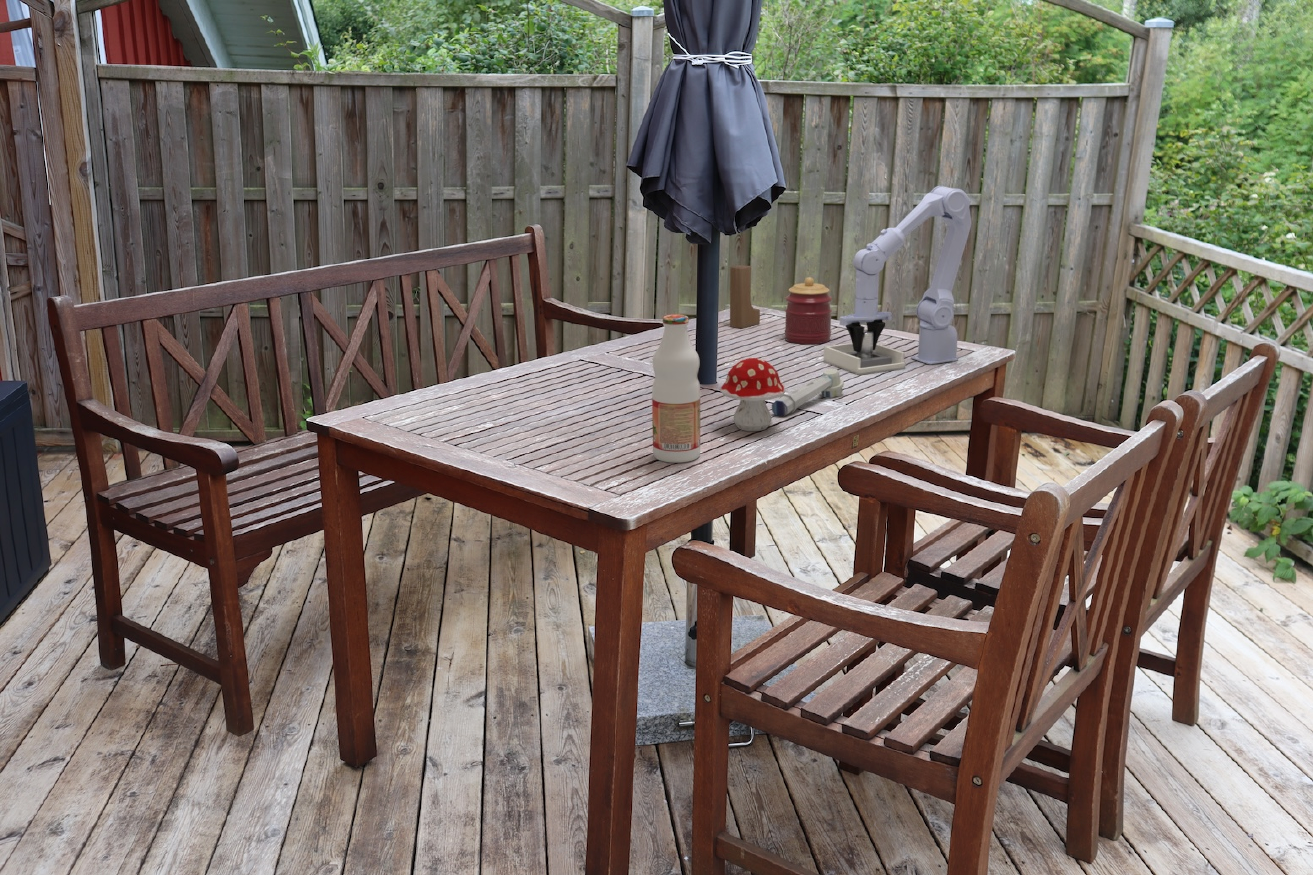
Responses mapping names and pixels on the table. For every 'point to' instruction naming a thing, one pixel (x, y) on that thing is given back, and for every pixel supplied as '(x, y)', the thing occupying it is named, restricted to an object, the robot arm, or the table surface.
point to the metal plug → (866, 345)
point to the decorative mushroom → (752, 392)
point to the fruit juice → (676, 394)
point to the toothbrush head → (809, 392)
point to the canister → (808, 313)
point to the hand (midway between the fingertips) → (864, 350)
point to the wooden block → (742, 298)
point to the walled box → (879, 362)
